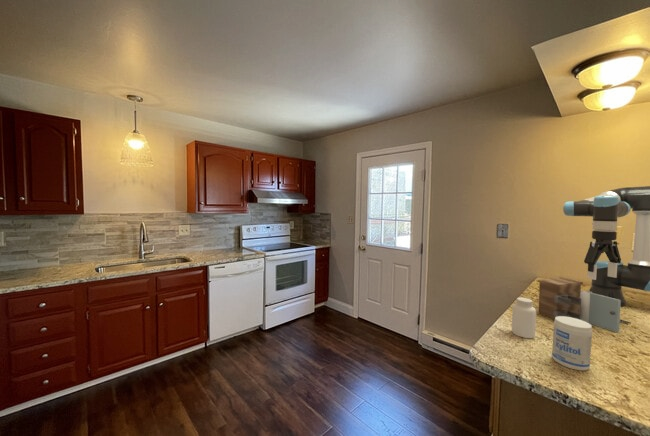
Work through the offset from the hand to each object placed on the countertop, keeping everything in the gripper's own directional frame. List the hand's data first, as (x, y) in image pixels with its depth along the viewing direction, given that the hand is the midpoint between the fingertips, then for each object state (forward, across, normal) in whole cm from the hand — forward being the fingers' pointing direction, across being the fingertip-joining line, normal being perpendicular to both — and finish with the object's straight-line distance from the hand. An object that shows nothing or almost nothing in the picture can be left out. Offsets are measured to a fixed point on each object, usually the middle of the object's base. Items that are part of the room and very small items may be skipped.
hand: (601, 278), depth 118 cm
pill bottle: (+22, +41, -4) cm, 47 cm away
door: (+22, 0, -1) cm, 22 cm away
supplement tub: (+22, +46, +16) cm, 53 cm away
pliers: (+22, -16, -8) cm, 29 cm away
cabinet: (+22, +4, -11) cm, 25 cm away
